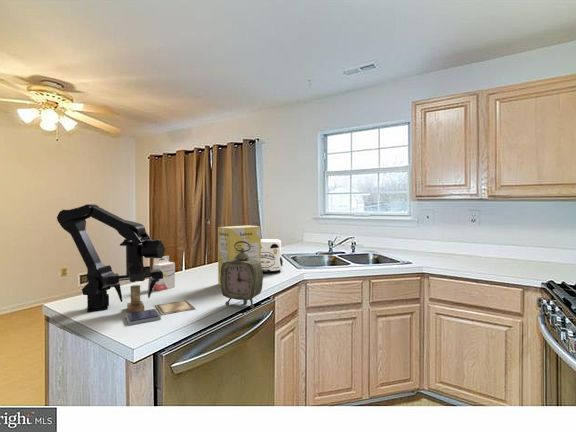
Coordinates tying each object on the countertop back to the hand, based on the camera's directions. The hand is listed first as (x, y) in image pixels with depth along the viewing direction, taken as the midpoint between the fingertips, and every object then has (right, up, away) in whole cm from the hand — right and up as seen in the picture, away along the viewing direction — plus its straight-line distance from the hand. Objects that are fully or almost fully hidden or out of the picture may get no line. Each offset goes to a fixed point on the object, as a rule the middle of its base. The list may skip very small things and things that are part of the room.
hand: (135, 299), depth 118 cm
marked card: (+14, -4, +3) cm, 14 cm away
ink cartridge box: (-1, -3, +30) cm, 30 cm away
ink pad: (+7, -4, -9) cm, 12 cm away
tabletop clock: (+39, -4, +6) cm, 40 cm away
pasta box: (+33, -3, +41) cm, 52 cm away
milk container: (+45, -2, +68) cm, 82 cm away
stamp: (0, -4, 0) cm, 4 cm away
